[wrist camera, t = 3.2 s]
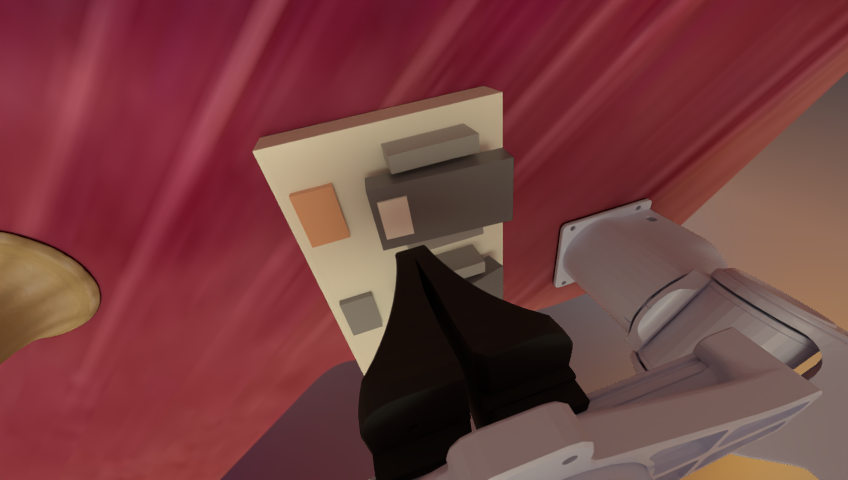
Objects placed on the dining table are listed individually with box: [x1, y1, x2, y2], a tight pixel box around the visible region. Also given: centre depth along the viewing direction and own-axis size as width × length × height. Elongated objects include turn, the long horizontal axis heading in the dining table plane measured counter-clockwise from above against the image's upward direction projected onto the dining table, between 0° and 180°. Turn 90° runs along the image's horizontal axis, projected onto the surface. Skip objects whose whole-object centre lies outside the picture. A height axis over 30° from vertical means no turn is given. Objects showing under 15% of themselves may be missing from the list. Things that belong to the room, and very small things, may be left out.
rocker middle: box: [464, 255, 503, 300], centre depth 23 cm, size 8×4×2 cm, turn 99°
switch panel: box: [253, 86, 503, 375], centre depth 25 cm, size 14×27×5 cm, turn 9°
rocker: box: [365, 148, 514, 251], centre depth 18 cm, size 8×4×2 cm, turn 99°
